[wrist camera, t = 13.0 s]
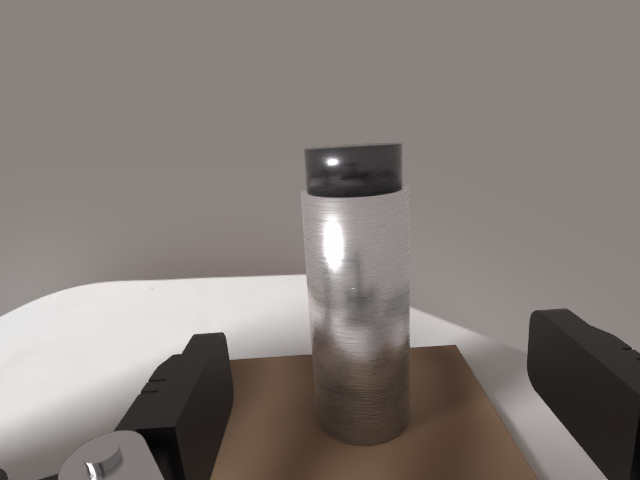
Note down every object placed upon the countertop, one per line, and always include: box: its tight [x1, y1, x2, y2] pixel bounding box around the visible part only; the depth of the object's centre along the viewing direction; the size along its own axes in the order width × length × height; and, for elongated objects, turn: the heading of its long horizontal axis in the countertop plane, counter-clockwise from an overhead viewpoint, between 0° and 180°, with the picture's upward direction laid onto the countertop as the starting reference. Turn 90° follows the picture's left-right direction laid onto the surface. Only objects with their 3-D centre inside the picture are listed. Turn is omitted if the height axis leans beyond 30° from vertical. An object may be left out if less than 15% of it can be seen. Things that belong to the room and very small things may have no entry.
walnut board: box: [210, 345, 538, 480], centre depth 22 cm, size 20×12×1 cm, turn 90°
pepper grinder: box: [301, 143, 410, 445], centre depth 20 cm, size 5×5×14 cm
